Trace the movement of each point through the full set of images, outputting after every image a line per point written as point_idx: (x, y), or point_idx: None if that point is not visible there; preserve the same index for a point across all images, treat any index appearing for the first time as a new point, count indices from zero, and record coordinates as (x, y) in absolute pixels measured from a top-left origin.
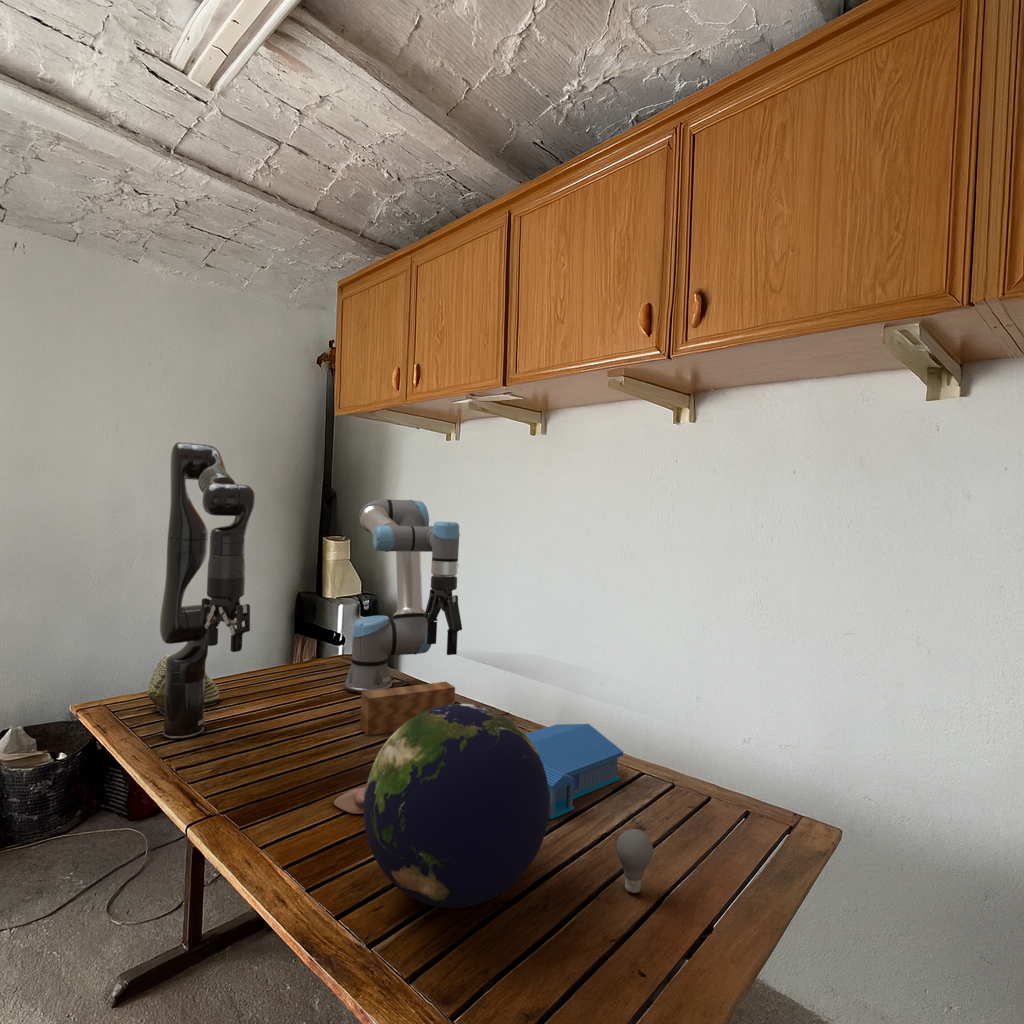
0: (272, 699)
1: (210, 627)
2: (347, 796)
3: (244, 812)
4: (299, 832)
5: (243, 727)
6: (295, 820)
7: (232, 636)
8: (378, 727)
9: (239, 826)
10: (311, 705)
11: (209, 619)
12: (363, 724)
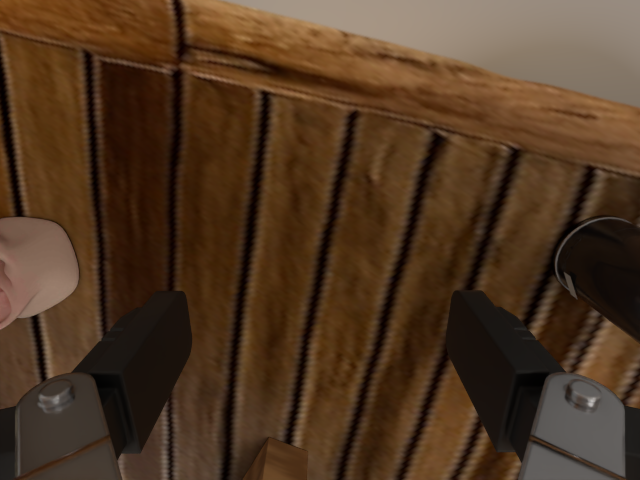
0: None
1: (530, 404)
2: (30, 242)
3: (147, 102)
4: (2, 117)
5: None
6: (51, 142)
7: (101, 364)
8: (258, 462)
9: (99, 59)
10: (476, 473)
11: (545, 466)
12: (290, 457)
